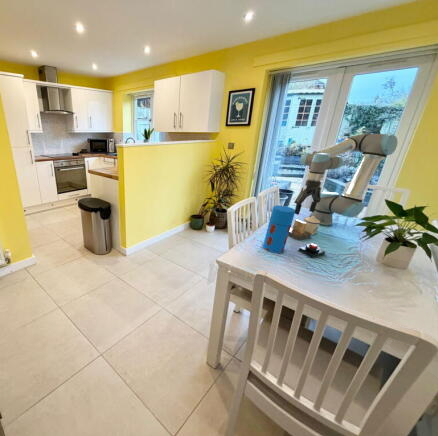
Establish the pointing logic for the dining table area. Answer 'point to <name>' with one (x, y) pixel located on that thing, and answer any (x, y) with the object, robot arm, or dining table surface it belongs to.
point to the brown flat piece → (299, 234)
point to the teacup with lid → (312, 225)
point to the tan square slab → (299, 226)
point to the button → (313, 245)
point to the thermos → (278, 228)
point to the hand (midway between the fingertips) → (304, 212)
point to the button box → (311, 251)
